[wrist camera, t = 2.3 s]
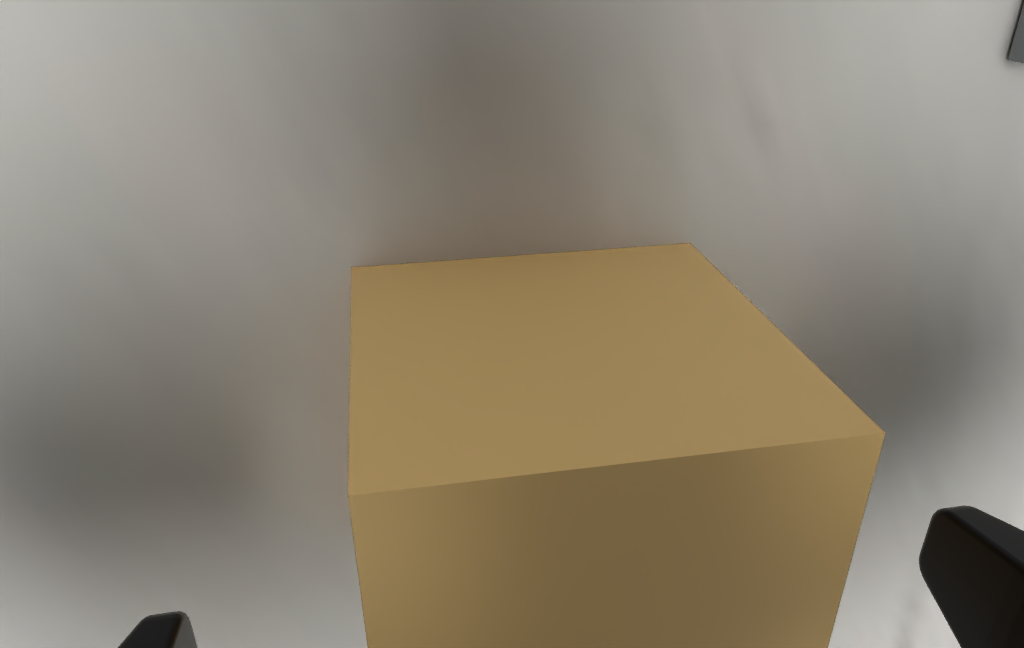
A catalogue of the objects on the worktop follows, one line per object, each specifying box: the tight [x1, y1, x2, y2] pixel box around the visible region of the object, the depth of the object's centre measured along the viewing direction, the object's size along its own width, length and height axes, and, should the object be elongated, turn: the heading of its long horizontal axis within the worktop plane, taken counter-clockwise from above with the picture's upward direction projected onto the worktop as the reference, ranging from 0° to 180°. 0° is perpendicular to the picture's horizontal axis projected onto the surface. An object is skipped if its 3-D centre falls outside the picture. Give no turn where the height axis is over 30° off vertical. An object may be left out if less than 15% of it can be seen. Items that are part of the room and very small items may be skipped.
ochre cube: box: [348, 243, 885, 648], centre depth 10 cm, size 5×5×5 cm
